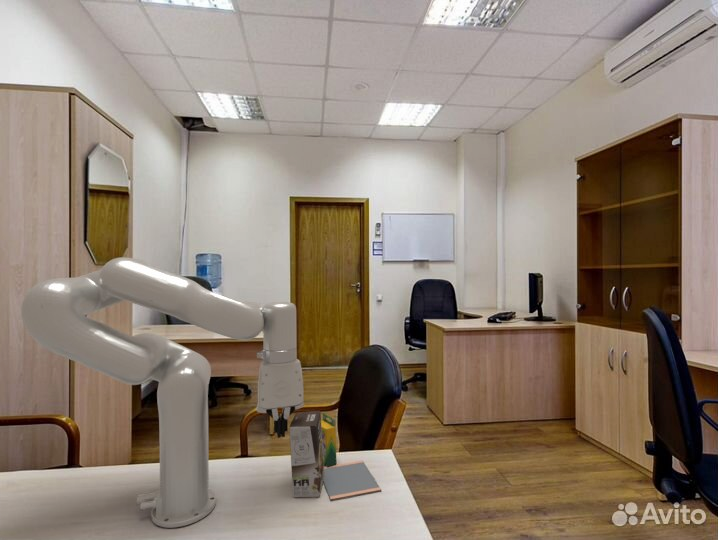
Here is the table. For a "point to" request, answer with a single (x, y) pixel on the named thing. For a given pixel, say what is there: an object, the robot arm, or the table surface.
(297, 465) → the coffee box
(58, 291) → the robot arm
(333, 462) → the crayon box
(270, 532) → the table surface
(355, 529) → the table surface
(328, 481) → the felt mat
